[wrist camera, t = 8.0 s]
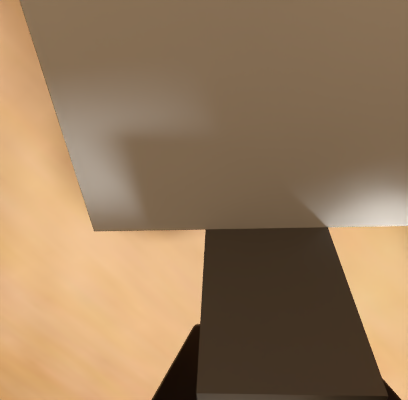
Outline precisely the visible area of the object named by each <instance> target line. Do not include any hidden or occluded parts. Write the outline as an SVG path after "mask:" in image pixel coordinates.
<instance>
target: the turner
mask: <svg viewBox="0 0 408 400" xmlns="http://www.w3.org/2000/svg"><path fill="white" fill-rule="evenodd" d="M20 3H21V6H22V9H23V13H24V16H25V19H26V22H27V25H28V28H29V31H30V34H31V37H32V40H33V44H34V47H35V50H36V53H37V56H38V59H39V62H40V65H41V68H42V71H43V74H44V78H45V81H46V84H47V87H48V90H49V93H50V96H51V99H52V102H53V105H54V109H55V112H56V115H57V118H58V121H59V124H60V127H61V130H62V133H63V136H64V139H65V143H66V146H67V149H68V152H69V155H70V158H71V161H72V164H73V167H74V170H75V174H76V177H77V180H78V183H79V186H80V189H81V192H82V195H83V198H84V201H85V204H86V208H87V211H88V214H89V217H90V220H91V223H92V226H93V229H94V231H141V230H199V229H206V234H205V251H204V269H203V286H202V304H201V321H200V339H199V356H198V374H197V391H196V394H197V400H387V398H388V394H387V391H386V388H385V385H384V383H383V380H382V377H381V374H380V372H379V369H378V366H377V363H376V360H375V358H374V355H373V352H372V349H371V347H370V344H369V341H368V338H367V335H366V333H365V330H364V327H363V324H362V322H361V319H360V316H359V313H358V310H357V308H356V305H355V302H354V299H353V297H352V294H351V291H350V288H349V285H348V283H347V280H346V277H345V274H344V272H343V269H342V266H341V263H340V260H339V258H338V255H337V252H336V249H335V247H334V244H333V241H332V238H331V235H330V233H329V230H328V227H371V226H408V0H20Z"/></svg>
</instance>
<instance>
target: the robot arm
mask: <svg viewBox="0 0 408 400" xmlns="http://www.w3.org/2000/svg"><path fill="white" fill-rule="evenodd" d="M199 339H200V324H196V325H195V326H194V327H193V328H192V330H191V332H190V334H189V335H188V337H187V339H186V341H185V342H184V344H183V346H182V348H181V349H180V351H179V353H178V355H177V356H176V358H175V360H174V361H173V363H172V365H171V367H170V368H169V370H168V372H167V374H166V375H165V377H164V379H163V381H162V382H161V384H160V386H159V388H158V389H157V391H156V393H155V395H154V396H153V398H152V400H197V394H196V391H197V374H198V356H199ZM382 380H383V379H382ZM383 383H384V385H385V388H386V391H387V394H388V398H387V400H401V399H400V398H399V396H398V395H397V394H396V393H395V392H394V391H393V390H392V389H391V388H390V386H389V385H388V384H387V383H386V382H385V381H384V380H383Z"/></svg>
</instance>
